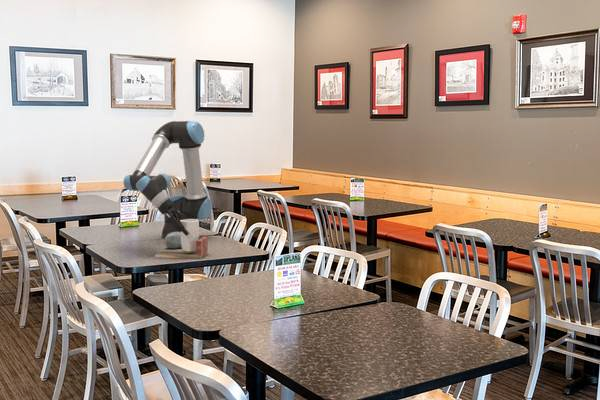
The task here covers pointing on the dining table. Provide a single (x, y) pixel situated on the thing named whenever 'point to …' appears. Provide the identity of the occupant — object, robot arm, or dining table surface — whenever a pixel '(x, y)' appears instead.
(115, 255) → the dining table surface
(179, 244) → the grey stone
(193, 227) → the cup
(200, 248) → the board
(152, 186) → the robot arm
